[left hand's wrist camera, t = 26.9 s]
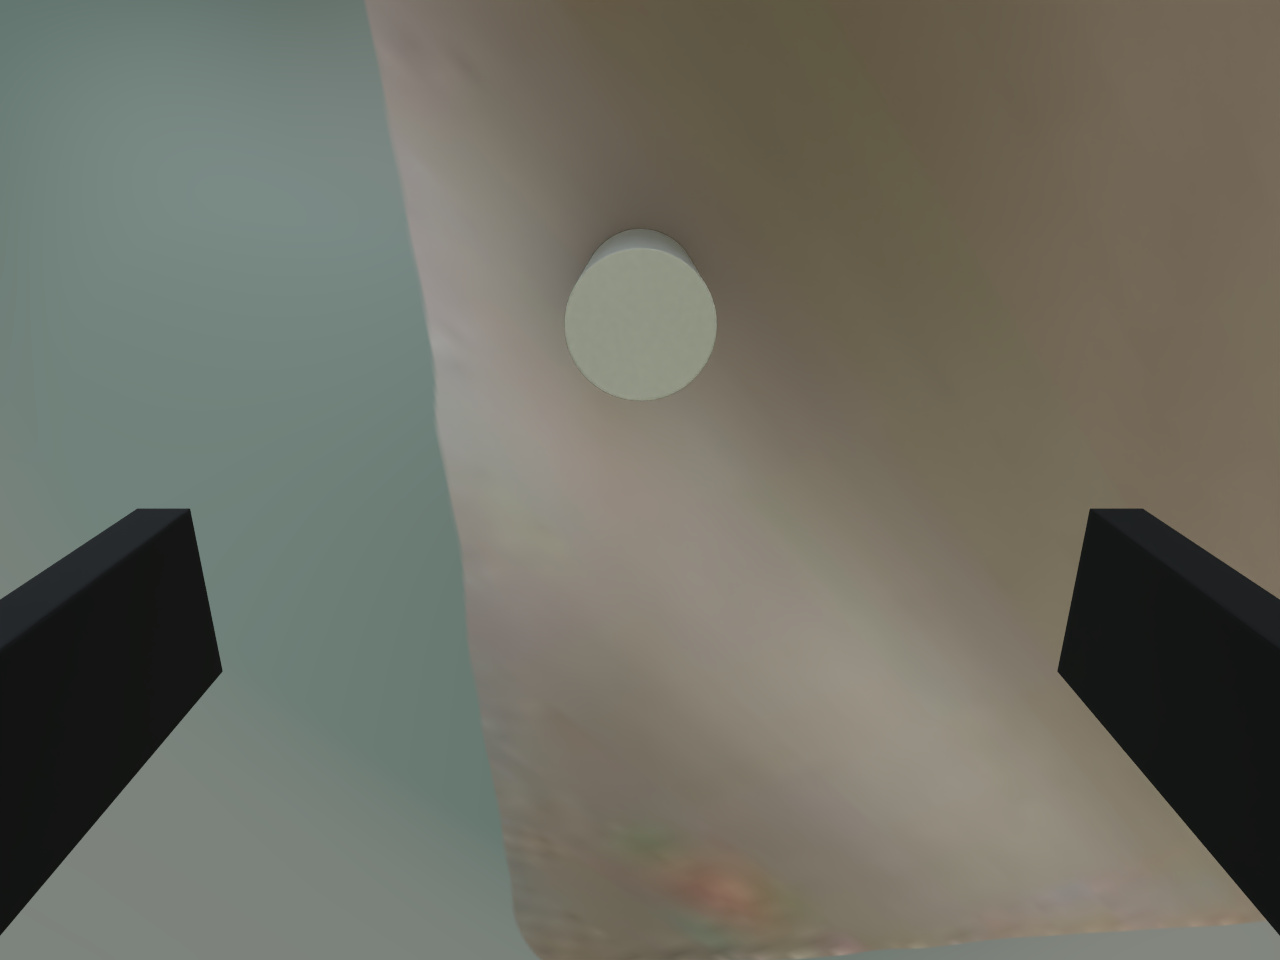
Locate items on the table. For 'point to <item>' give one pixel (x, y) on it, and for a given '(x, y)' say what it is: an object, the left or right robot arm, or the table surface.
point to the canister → (640, 317)
